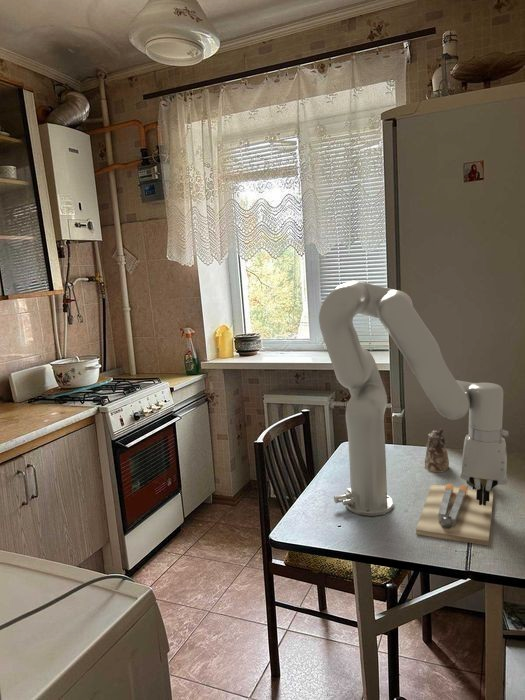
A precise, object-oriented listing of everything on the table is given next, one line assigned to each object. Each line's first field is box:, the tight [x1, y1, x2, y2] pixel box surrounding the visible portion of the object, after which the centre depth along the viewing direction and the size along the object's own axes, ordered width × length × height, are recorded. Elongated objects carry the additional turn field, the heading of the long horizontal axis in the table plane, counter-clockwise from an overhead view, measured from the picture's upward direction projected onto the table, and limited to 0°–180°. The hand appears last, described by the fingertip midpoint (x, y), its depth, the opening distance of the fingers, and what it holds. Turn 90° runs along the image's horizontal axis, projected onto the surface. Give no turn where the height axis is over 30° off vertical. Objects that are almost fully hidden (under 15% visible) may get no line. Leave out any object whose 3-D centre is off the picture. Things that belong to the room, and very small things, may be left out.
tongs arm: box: [441, 484, 469, 528], centre depth 133 cm, size 20×3×2 cm, turn 151°
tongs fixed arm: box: [438, 483, 454, 522], centre depth 135 cm, size 18×2×2 cm, turn 154°
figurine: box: [424, 428, 450, 473], centre depth 162 cm, size 7×7×12 cm
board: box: [415, 483, 494, 547], centre depth 134 cm, size 26×16×1 cm, turn 154°
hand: (482, 502), depth 132 cm, fingers closed
